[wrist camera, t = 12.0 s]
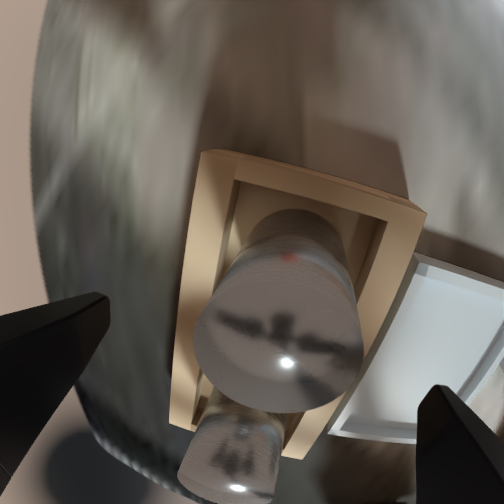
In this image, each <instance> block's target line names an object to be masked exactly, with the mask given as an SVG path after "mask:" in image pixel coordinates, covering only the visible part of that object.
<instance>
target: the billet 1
mask: <svg viewBox="0 0 504 504" xmlns="http://www.w3.org/2000/svg"><path fill="white" fill-rule="evenodd" d="M193 346H194V353H195V356H196V360H197V362H198V364H199V367H200V368H201V370H202V372H203V373H204V375H205V376H206V377H207V379H208V380H209V381H210V382H211V383H212V384H213V385H214V386H215V387H216V388H217V389H218V390H219V391H221V392H222V393H223V394H224V395H226V396H227V397H229V398H231V399H232V400H234V401H236V402H238V403H240V404H242V405H245V406H247V407H250V408H253V409H257V410H261V411H266V412H273V413H297V412H304V411H308V410H312V409H316V408H318V407H321V406H324V405H326V404H328V403H330V402H332V401H333V400H335V399H336V398H338V397H339V396H341V395H342V394H343V393H344V392H345V391H347V389H348V388H349V387H350V386H351V385H352V384H353V382H354V381H355V379H356V378H357V376H358V374H359V372H360V370H361V367H362V363H363V358H364V343H363V337H362V332H361V326H360V321H359V315H358V310H357V305H356V300H355V295H354V290H353V285H352V280H351V276H350V271H349V267H348V262H347V258H346V254H345V249H344V245H343V242H342V239H341V237H340V235H339V233H338V232H337V230H336V229H335V228H334V227H333V225H332V224H331V223H330V222H328V221H327V220H326V219H325V218H323V217H322V216H320V215H318V214H316V213H314V212H311V211H308V210H303V209H285V210H280V211H277V212H274V213H272V214H270V215H268V216H266V217H265V218H263V219H262V220H261V221H260V222H259V223H258V224H257V225H256V226H255V227H254V228H253V230H252V232H251V233H250V235H249V236H248V238H247V240H246V241H245V243H244V244H243V246H242V248H241V249H240V251H239V253H238V254H237V256H236V257H235V259H234V261H233V262H232V264H231V266H230V267H229V269H228V270H227V272H226V274H225V275H224V277H223V279H222V280H221V282H220V283H219V285H218V287H217V288H216V290H215V292H214V293H213V295H212V297H211V298H210V300H209V302H208V303H207V305H206V306H205V308H204V310H203V311H202V313H201V315H200V316H199V318H198V321H197V323H196V325H195V330H194V334H193Z"/></svg>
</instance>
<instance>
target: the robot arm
mask: <svg viewBox="0 0 504 504" xmlns="http://www.w3.org/2000/svg"><path fill="white" fill-rule="evenodd" d="M109 326H110V300H109V297H108V296H106V295H104V294H101V293H99V292H91V293H87V294H83V295H79V296H76V297H72V298H68V299H64V300H60V301H56V302H52V303H48V304H44V305H41V306H37V307H33V308H29V309H25V310H21V311H17V312H13V313H9V314H5V315H2V316H0V496H1V494H2V493H3V491H4V489H5V488H6V486H7V484H8V483H9V481H10V479H11V477H12V476H13V474H14V472H15V471H16V469H17V468H18V466H19V465H20V463H21V461H22V460H23V458H24V457H25V455H26V454H27V452H28V451H29V449H30V448H31V446H32V444H33V443H34V441H35V440H36V438H37V437H38V435H39V434H40V432H41V431H42V429H43V428H44V426H45V425H46V424H47V422H48V421H49V419H50V418H51V416H52V415H53V413H54V412H55V410H56V409H57V408H58V406H59V405H60V403H61V402H62V400H63V399H64V397H65V396H66V395H67V393H68V392H69V391H70V389H71V388H72V386H73V385H74V384H75V382H76V381H77V380H78V378H79V377H80V375H81V374H82V373H83V371H84V370H85V368H86V366H87V365H88V363H89V361H90V360H91V358H92V356H93V354H94V353H95V351H96V349H97V347H98V346H99V344H100V342H101V341H102V339H103V337H104V336H105V334H106V332H107V331H108V329H109ZM416 504H504V443H503V442H502V441H501V440H500V439H499V438H498V437H497V436H496V435H495V433H494V432H493V431H492V430H491V429H490V428H489V427H488V426H487V425H486V424H485V423H484V422H483V421H482V420H481V419H480V418H479V417H478V416H477V415H476V414H475V413H474V412H473V411H472V410H471V409H470V408H469V407H468V406H467V405H466V404H465V403H464V402H463V401H462V400H461V399H460V398H459V397H458V396H457V395H456V394H455V393H454V392H453V391H452V390H451V389H450V388H449V387H448V386H446V385H440V384H436V385H434V386H432V387H431V389H430V390H429V392H428V393H427V394H426V396H425V397H424V398H423V400H422V401H421V402H420V404H419V406H418V409H417V437H416Z"/></svg>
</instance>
